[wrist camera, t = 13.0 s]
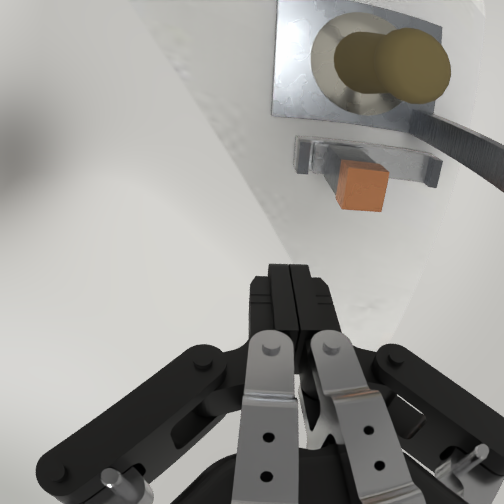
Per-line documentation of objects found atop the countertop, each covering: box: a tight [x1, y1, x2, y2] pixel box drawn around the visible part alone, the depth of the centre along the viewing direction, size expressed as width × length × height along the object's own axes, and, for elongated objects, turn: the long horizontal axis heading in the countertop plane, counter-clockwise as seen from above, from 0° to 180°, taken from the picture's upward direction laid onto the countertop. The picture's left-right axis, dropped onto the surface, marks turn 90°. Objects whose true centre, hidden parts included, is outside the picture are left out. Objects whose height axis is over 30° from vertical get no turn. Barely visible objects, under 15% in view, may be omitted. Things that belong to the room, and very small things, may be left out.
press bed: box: [271, 0, 504, 192], centre depth 18 cm, size 16×12×18 cm
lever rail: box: [293, 136, 443, 188], centre depth 29 cm, size 15×3×3 cm, turn 88°
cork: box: [333, 28, 451, 104], centre depth 19 cm, size 6×6×11 cm
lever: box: [312, 143, 390, 212], centre depth 26 cm, size 5×3×8 cm, turn 88°
